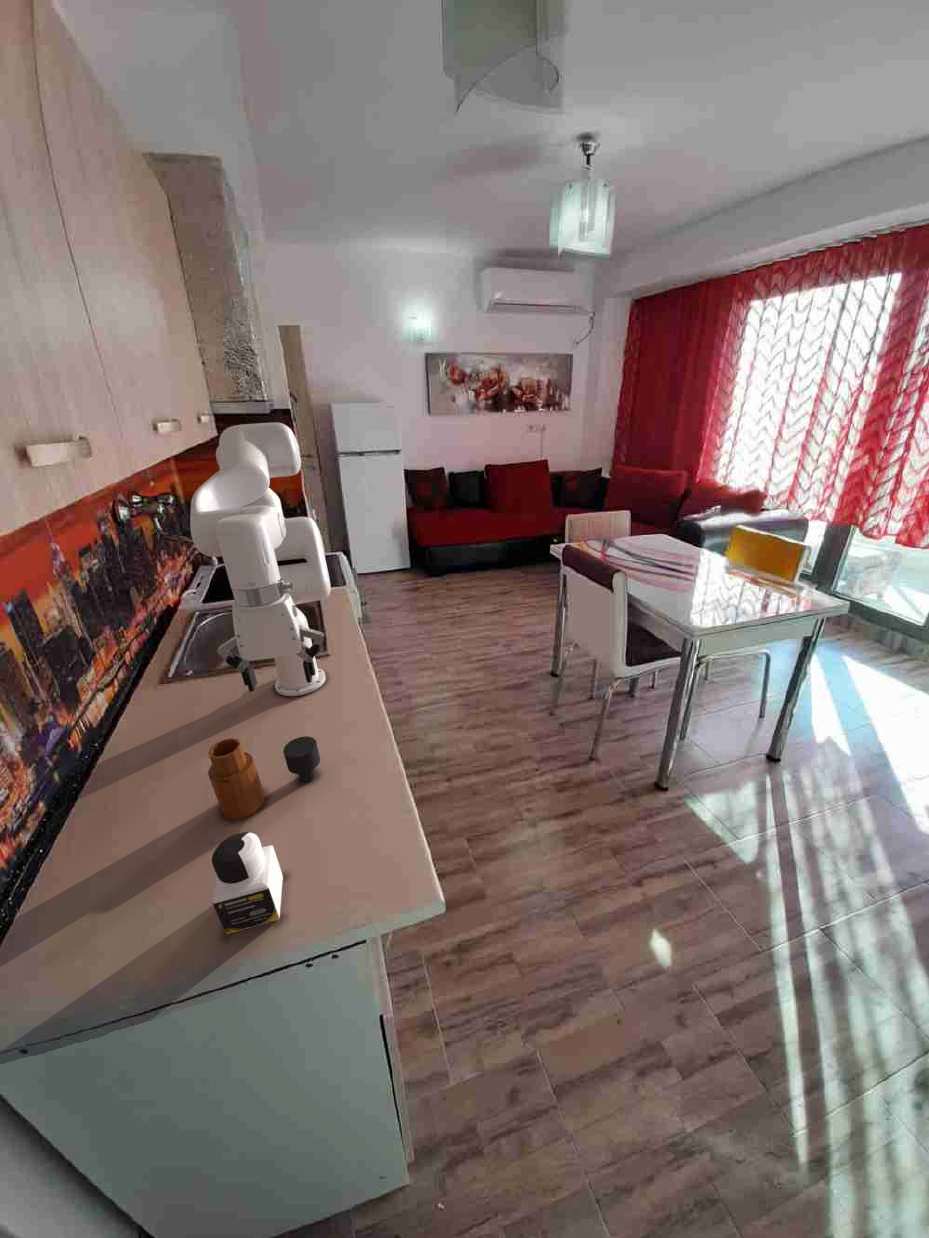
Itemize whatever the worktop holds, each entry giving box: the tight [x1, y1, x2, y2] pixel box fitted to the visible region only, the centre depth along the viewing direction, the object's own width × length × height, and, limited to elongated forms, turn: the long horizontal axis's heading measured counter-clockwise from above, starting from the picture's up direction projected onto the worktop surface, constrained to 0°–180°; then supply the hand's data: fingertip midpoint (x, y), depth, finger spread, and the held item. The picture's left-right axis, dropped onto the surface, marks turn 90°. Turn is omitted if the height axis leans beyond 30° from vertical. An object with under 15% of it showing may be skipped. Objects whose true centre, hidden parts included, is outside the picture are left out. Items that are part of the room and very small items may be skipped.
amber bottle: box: [207, 737, 266, 820], centre depth 84 cm, size 7×7×13 cm
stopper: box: [282, 735, 321, 783], centre depth 90 cm, size 6×6×8 cm
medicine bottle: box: [211, 831, 284, 935], centre depth 66 cm, size 7×7×12 cm
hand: (282, 683), depth 84 cm, fingers open, 9 cm apart
